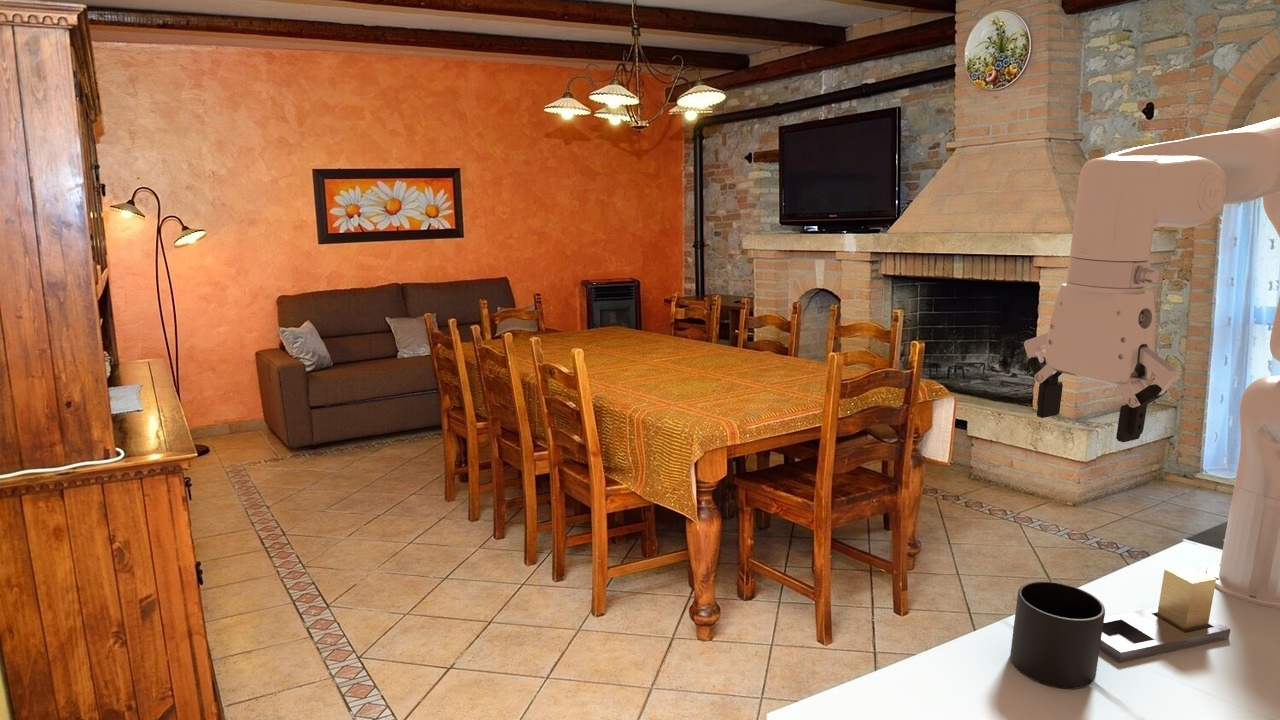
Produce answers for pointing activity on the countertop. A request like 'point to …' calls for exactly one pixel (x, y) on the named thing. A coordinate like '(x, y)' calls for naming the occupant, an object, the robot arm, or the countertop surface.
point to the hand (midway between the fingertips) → (1086, 427)
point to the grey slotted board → (1152, 636)
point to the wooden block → (1186, 598)
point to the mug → (1057, 634)
